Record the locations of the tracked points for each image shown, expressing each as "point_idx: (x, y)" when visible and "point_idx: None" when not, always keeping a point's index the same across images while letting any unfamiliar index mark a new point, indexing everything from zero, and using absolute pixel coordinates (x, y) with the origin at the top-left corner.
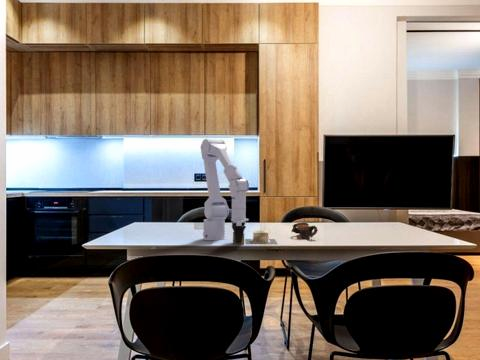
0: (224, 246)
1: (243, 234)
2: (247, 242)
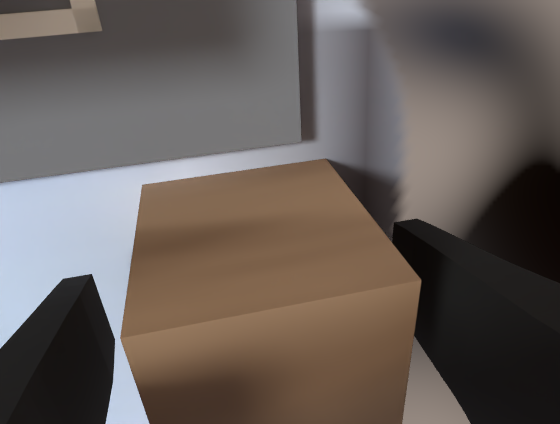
0: None
1: (409, 280)
2: (115, 131)
